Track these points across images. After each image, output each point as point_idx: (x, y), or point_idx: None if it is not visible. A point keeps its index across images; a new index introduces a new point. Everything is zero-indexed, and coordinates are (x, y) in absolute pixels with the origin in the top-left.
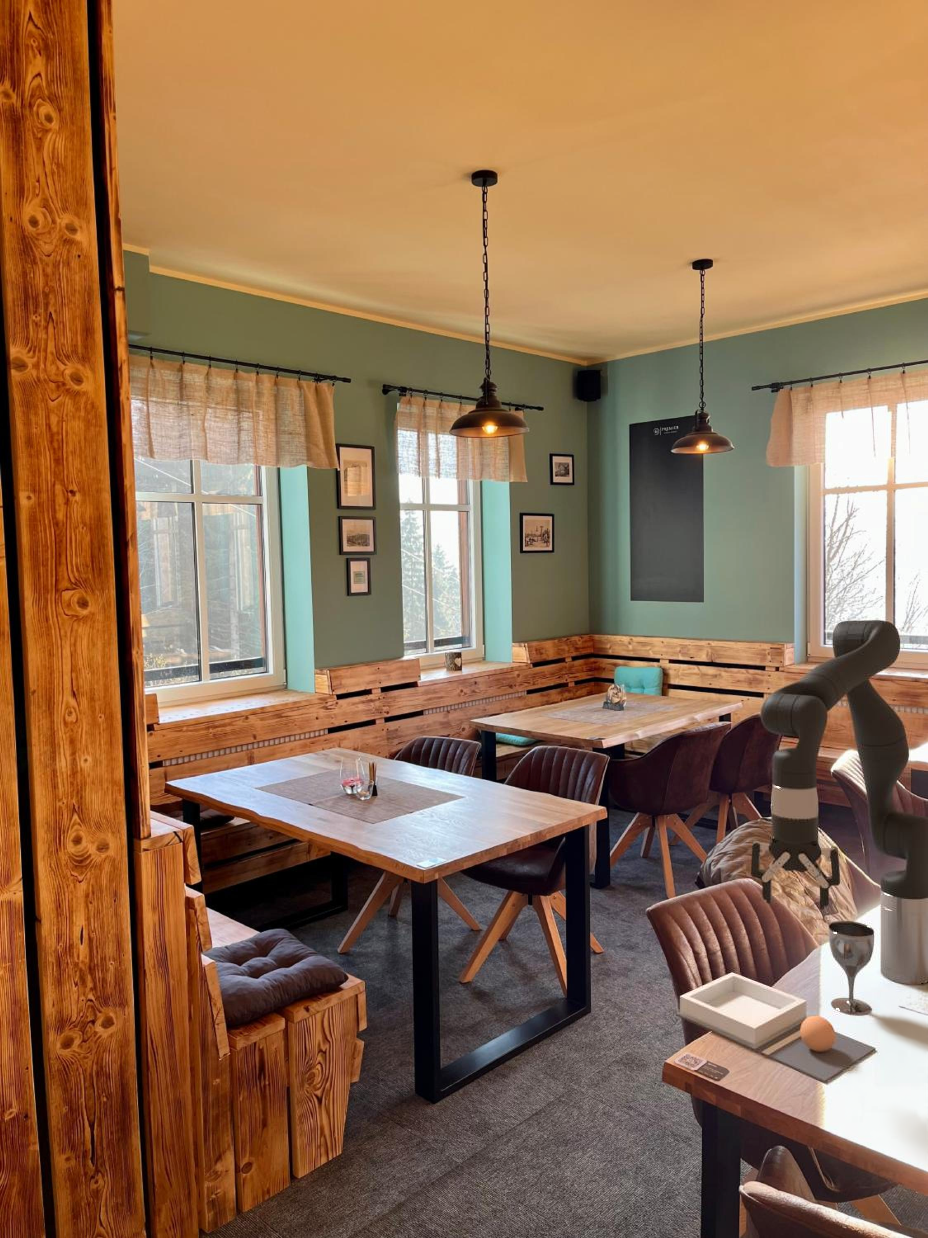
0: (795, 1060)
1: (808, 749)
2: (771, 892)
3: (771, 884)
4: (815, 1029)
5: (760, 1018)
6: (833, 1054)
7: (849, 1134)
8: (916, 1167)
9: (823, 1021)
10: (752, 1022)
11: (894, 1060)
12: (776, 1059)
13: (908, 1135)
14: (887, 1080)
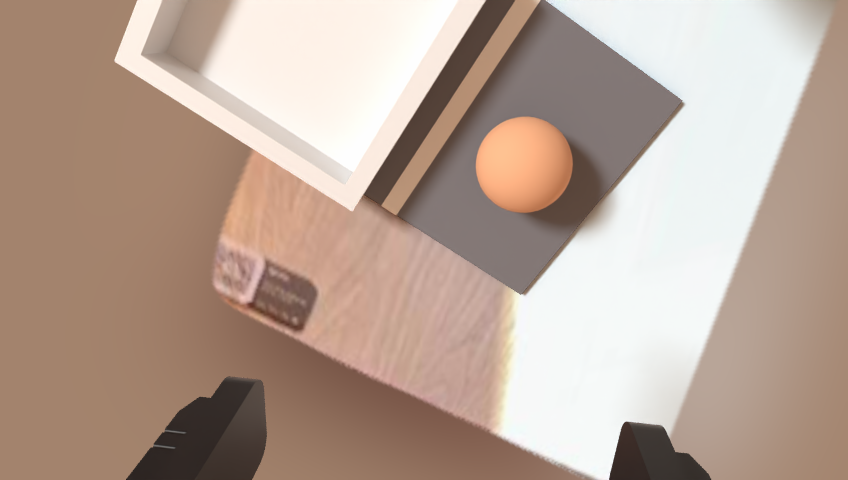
0: (460, 224)
1: None
2: (235, 427)
3: (201, 473)
4: (515, 209)
5: (366, 36)
6: None
7: (544, 441)
8: None
9: (543, 188)
10: (346, 71)
11: (718, 140)
12: (416, 227)
13: None
14: (669, 244)
